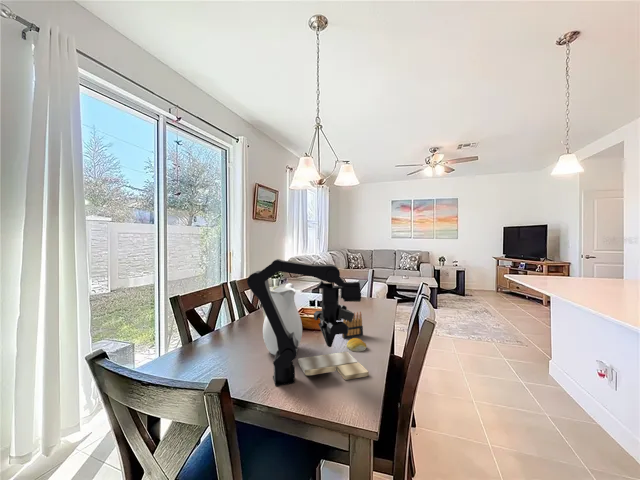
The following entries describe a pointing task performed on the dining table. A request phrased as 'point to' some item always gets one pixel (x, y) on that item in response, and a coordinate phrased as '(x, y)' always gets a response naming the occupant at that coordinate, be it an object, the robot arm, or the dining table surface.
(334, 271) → the robot arm
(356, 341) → the bread roll
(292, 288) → the pitcher
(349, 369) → the plank outer
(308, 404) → the dining table surface
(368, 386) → the dining table surface
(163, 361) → the dining table surface
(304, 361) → the board
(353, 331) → the ammunition clip
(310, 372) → the plank inner
